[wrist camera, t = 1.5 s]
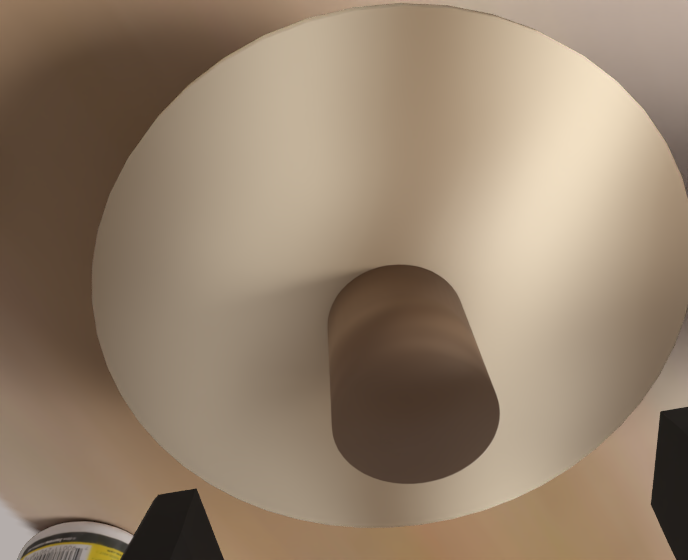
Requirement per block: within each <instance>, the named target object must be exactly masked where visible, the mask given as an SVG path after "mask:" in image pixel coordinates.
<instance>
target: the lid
mask: <svg viewBox="0 0 688 560" xmlns="http://www.w3.org/2000/svg"><path fill="white" fill-rule="evenodd" d="M92 305H93V312H94V318H95V324H96V331H97V336H98V339H99V342H100V346H101V349H102V352H103V355H104V358H105V361H106V364H107V367H108V369H109V371H110V373H111V375H112V378H113V380H114V382H115V384H116V386H117V388H118V390H119V392H120V394H121V396H122V397H123V399H124V400H125V402H126V403H127V405H128V406H129V408H130V409H131V411H132V412H133V414H134V415H135V417H136V418H137V420H138V421H139V422H140V424H141V425H142V426H143V427H144V428H145V429H146V430H147V431H148V433H149V434H150V435H151V436H152V437H153V438H154V439H155V440H156V442H157V443H158V444H159V445H160V446H161V447H162V448H163V449H165V450H166V451H167V452H168V453H169V454H170V455H171V456H173V457H174V458H175V459H176V460H177V461H178V462H179V463H181V464H182V465H183V466H184V467H186V468H187V469H188V470H190V471H191V472H193V473H194V474H196V475H197V476H199V477H200V478H202V479H203V480H205V481H206V482H207V483H209V484H211V485H213V486H214V487H216V488H218V489H220V490H222V491H224V492H226V493H228V494H229V495H231V496H233V497H235V498H237V499H239V500H242V501H244V502H247V503H249V504H252V505H254V506H257V507H259V508H262V509H264V510H267V511H270V512H274V513H277V514H281V515H284V516H288V517H291V518H295V519H299V520H305V521H310V522H315V523H321V524H326V525H336V526H347V527H358V528H376V527H401V526H412V525H422V524H427V523H433V522H438V521H444V520H449V519H454V518H458V517H461V516H465V515H469V514H472V513H476V512H479V511H483V510H486V509H488V508H491V507H494V506H496V505H499V504H502V503H504V502H507V501H510V500H512V499H515V498H517V497H519V496H521V495H523V494H525V493H527V492H529V491H531V490H533V489H535V488H537V487H539V486H541V485H543V484H545V483H547V482H548V481H550V480H551V479H553V478H555V477H556V476H558V475H560V474H561V473H563V472H565V471H566V470H568V469H570V468H571V467H572V466H574V465H575V464H576V463H578V462H579V461H580V460H582V459H583V458H584V457H586V456H587V455H588V454H589V453H591V452H592V451H593V450H595V449H596V448H597V447H598V446H599V445H600V444H601V443H603V442H604V441H605V440H606V439H607V438H608V437H609V436H610V435H611V434H612V433H613V432H614V431H615V430H617V429H618V428H619V427H620V426H621V424H622V423H623V422H624V421H625V420H626V419H627V417H628V416H629V415H630V414H631V413H632V412H633V411H634V409H635V408H636V407H637V406H638V405H639V404H640V402H641V401H642V400H643V398H644V397H645V395H646V394H647V392H648V391H649V389H650V388H651V386H652V385H653V384H654V382H655V381H656V379H657V378H658V376H659V375H660V373H661V371H662V369H663V367H664V365H665V363H666V361H667V359H668V357H669V355H670V353H671V351H672V349H673V348H674V346H675V343H676V340H677V337H678V335H679V332H680V329H681V326H682V323H683V321H684V318H685V315H686V311H687V306H688V198H687V194H686V190H685V186H684V183H683V179H682V176H681V174H680V172H679V169H678V167H677V165H676V163H675V161H674V158H673V156H672V154H671V152H670V149H669V147H668V145H667V143H666V141H665V140H664V138H663V137H662V135H661V134H660V133H659V131H658V130H657V128H656V127H655V125H654V124H653V122H652V121H651V119H650V118H649V116H648V115H647V113H646V112H645V110H644V109H643V108H642V107H641V106H640V105H639V104H638V103H637V102H636V101H635V100H634V99H633V98H632V97H631V96H630V95H629V93H628V92H627V91H626V90H625V89H624V88H623V87H622V86H621V85H620V84H619V83H618V82H617V81H616V80H615V79H613V78H612V77H611V76H609V75H608V74H607V73H605V72H604V71H603V70H602V69H600V68H599V67H598V66H596V65H595V64H594V63H592V62H591V61H590V60H588V59H587V58H586V57H584V56H583V55H581V54H579V53H578V52H576V51H574V50H572V49H570V48H568V47H566V46H565V45H563V44H561V43H559V42H557V41H555V40H553V39H552V38H550V37H548V36H546V35H544V34H542V33H540V32H539V31H537V30H535V29H532V28H529V27H527V26H524V25H521V24H518V23H515V22H513V21H510V20H507V19H504V18H501V17H499V16H496V15H493V14H488V13H483V12H478V11H473V10H468V9H463V8H458V7H453V6H448V5H428V4H408V3H397V4H386V5H375V6H364V7H353V8H349V9H345V10H341V11H336V12H332V13H328V14H324V15H319V16H315V17H311V18H307V19H304V20H302V21H299V22H297V23H294V24H292V25H289V26H286V27H284V28H281V29H279V30H276V31H274V32H271V33H268V34H266V35H263V36H262V37H260V38H258V39H256V40H255V41H253V42H251V43H249V44H247V45H246V46H244V47H242V48H240V49H239V50H237V51H235V52H233V53H231V54H230V55H228V56H226V57H224V58H223V59H222V60H220V61H219V62H218V63H216V64H215V65H214V66H212V67H211V68H210V69H209V70H207V71H206V72H205V73H203V74H202V75H201V76H199V77H198V78H197V79H195V80H194V81H193V82H192V83H190V84H189V85H188V86H187V87H186V88H185V89H184V90H183V91H182V92H181V93H180V94H179V95H178V96H177V97H176V98H175V99H174V100H173V101H172V102H171V103H170V104H169V105H168V106H167V107H166V109H165V110H164V111H163V112H162V113H161V114H160V115H159V116H158V117H157V119H156V120H155V121H154V123H153V124H152V125H151V127H150V128H149V130H148V131H147V132H146V134H145V135H144V137H143V138H142V139H141V141H140V142H139V143H138V145H137V146H136V148H135V149H134V150H133V152H132V153H131V155H130V156H129V157H128V159H127V161H126V163H125V165H124V167H123V169H122V171H121V173H120V175H119V177H118V179H117V181H116V183H115V184H114V186H113V188H112V190H111V192H110V194H109V197H108V200H107V204H106V207H105V210H104V213H103V216H102V219H101V222H100V225H99V228H98V232H97V238H96V244H95V251H94V257H93V263H92Z"/></svg>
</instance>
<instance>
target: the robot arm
mask: <svg viewBox="0 0 688 560" xmlns="http://www.w3.org/2000/svg"><path fill="white" fill-rule="evenodd" d="M651 506H652V508H653V510H654V512H655V515H656V517H657V519H658V521H659V524H660V526H661V528H662V530H663V532H664V535H665V537H666V539H667V541H668V543H669V545H670V547H671V550H672V552H673V554H674V556H675V558H676V560H688V407H685V408H679V409H673V410H667V411H661V412H660V421H659V431H658V440H657V450H656V460H655V470H654V480H653V489H652V499H651ZM120 560H224V559H223V556H222V553H221V551H220V548H219V546H218V543H217V540H216V538H215V535H214V533H213V530H212V527H211V525H210V522H209V520H208V517H207V514H206V512H205V509H204V507H203V504H202V502H201V499H200V496H199V494H198V491H197V489H191V490H185V491H179V492H173V493H167V494H161V495H158V496H157V497H156V498H155V500H154V501H153V503H152V504H151V506H150V508H149V510H148V511H147V513H146V515H145V517H144V518H143V520H142V522H141V524H140V525H139V527H138V529H137V531H136V532H135V534H134V536H133V538H132V539H131V541H130V543H129V545H128V546H127V548H126V550H125V551H124V553H123V555H122V557H121V558H120Z"/></svg>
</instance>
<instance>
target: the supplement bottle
mask: <svg viewBox="0 0 688 560" xmlns="http://www.w3.org/2000/svg"><path fill="white" fill-rule="evenodd" d="M132 538H133V535H132V534H130V533H128V532H126V531H124V530H122V529H119V528H116V527H114V526H110V525H107V524H102V523H97V522H87V521H79V522H68V523H62V524H58V525H54V526H51V527H49V528H47V529H45V530H43V531H41V532H39V533H38V534H36V535H35V536H34V537H32V539H30V540H29V541H28V542H27V543H26V544H25V546H24V547H23V549H22V550H21V552H20V554H19V556H18V558H17V560H120V558H121V557H122V555H123V553H124V551H125V550H126V548H127V546H128V545H129V543H130V541H131V539H132Z"/></svg>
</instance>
